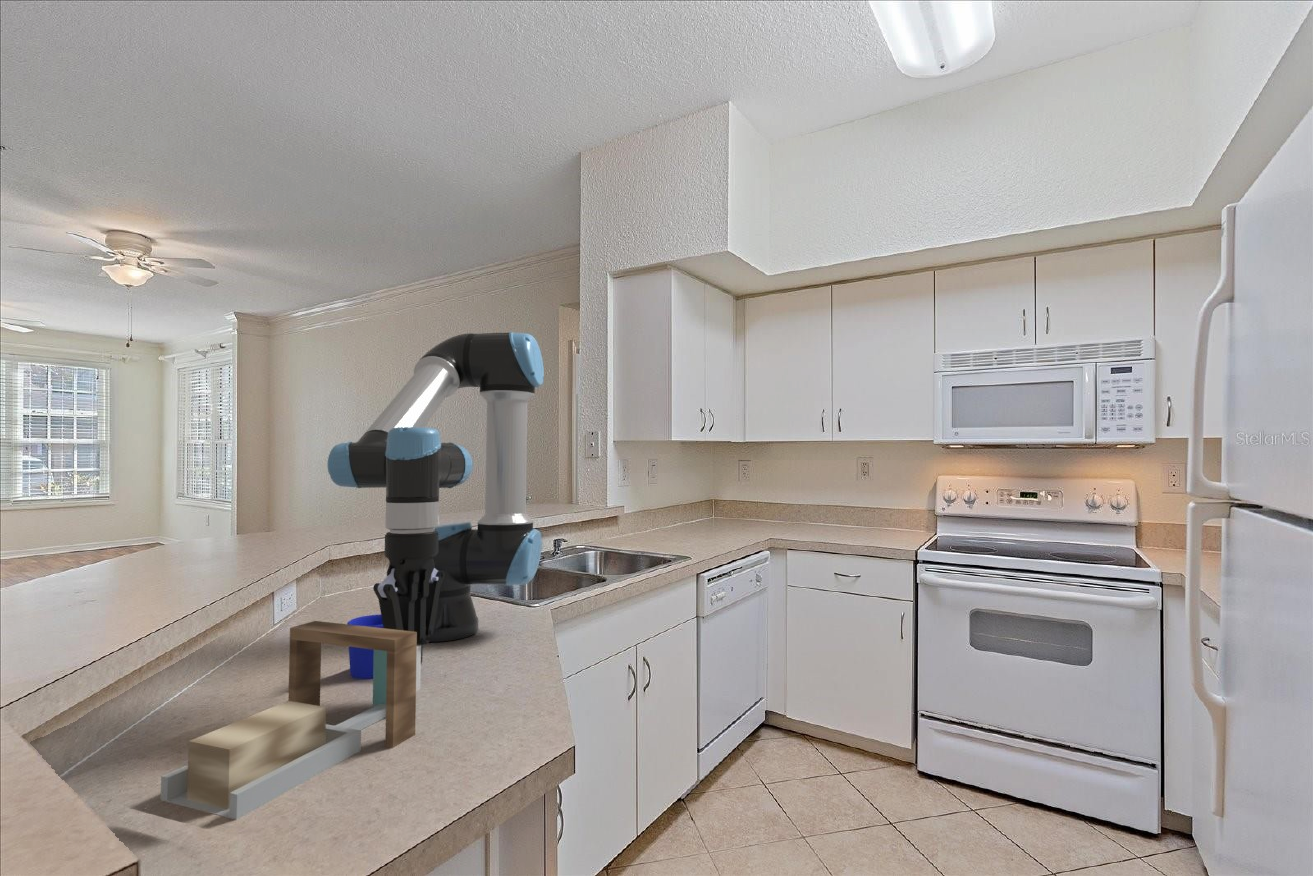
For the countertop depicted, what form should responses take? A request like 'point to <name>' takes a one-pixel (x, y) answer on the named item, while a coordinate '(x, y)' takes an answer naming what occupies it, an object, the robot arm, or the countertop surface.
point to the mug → (363, 650)
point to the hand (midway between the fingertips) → (409, 690)
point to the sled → (337, 748)
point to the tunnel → (393, 641)
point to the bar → (251, 750)
